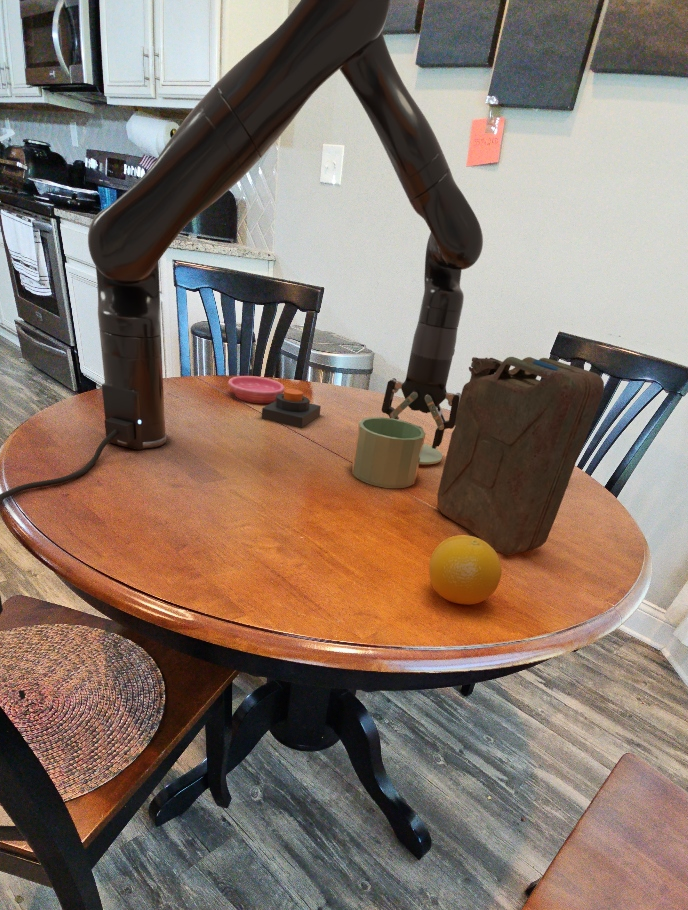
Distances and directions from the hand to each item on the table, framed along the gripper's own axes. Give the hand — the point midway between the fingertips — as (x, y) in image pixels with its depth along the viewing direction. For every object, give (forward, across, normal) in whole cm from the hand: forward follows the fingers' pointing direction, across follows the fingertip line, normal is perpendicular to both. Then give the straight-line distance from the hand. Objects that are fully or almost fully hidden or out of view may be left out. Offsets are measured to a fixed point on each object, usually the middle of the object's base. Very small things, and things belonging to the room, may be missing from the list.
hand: (413, 442), depth 114 cm
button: (-1, -28, +6) cm, 29 cm away
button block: (+3, -28, +6) cm, 29 cm away
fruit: (+3, +17, -49) cm, 52 cm away
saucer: (+3, -40, +14) cm, 42 cm away
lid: (+2, 0, 0) cm, 2 cm away
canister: (+3, +18, -26) cm, 32 cm away
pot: (+3, -2, -14) cm, 14 cm away
